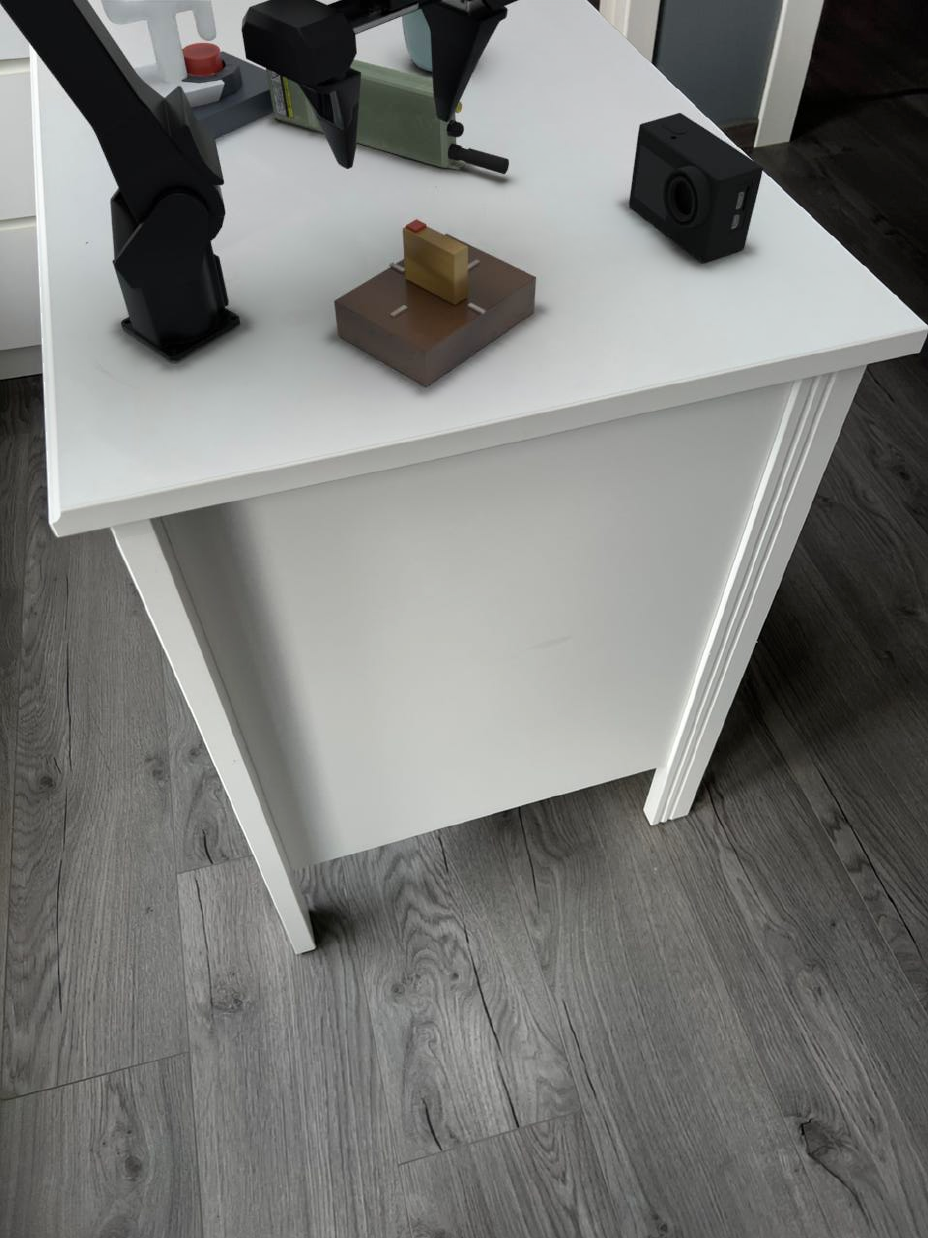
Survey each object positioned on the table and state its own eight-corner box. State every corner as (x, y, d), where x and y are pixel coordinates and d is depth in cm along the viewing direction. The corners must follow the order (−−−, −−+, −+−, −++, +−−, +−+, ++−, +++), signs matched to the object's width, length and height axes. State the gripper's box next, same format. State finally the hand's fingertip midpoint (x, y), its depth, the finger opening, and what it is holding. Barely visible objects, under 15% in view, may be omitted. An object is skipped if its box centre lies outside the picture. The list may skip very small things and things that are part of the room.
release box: (195, 148, 92) (185, 103, 89) (129, 114, 96) (118, 71, 93) (292, 103, 97) (286, 59, 94) (226, 73, 101) (219, 30, 98)
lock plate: (427, 387, 70) (425, 350, 68) (336, 335, 74) (332, 297, 71) (535, 312, 76) (537, 275, 73) (446, 267, 79) (445, 230, 77)
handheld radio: (290, 107, 97) (516, 171, 89) (269, 122, 95) (498, 189, 87) (278, 33, 91) (517, 95, 83) (256, 48, 90) (498, 112, 82)
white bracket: (243, 120, 95) (211, -63, 83) (146, 144, 92) (99, -42, 80) (216, 91, 99) (181, -88, 87) (122, 113, 96) (74, -69, 84)
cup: (471, 84, 100) (471, -29, 92) (395, 77, 101) (389, -35, 93) (485, 51, 104) (487, -59, 97) (413, 45, 105) (409, -64, 98)
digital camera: (615, 208, 85) (625, 125, 79) (667, 192, 87) (680, 109, 81) (690, 268, 79) (706, 183, 74) (744, 249, 81) (763, 165, 75)
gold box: (468, 297, 72) (468, 243, 68) (454, 305, 71) (454, 251, 68) (418, 270, 74) (416, 216, 70) (404, 278, 73) (402, 224, 70)
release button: (201, 82, 92) (197, 62, 91) (176, 70, 94) (172, 50, 92) (231, 69, 94) (227, 49, 93) (207, 58, 95) (203, 38, 94)
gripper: (403, -196, 64) (412, 64, 76) (158, -131, 55) (213, 149, 67) (533, -160, 59) (521, 111, 71) (287, -82, 50) (321, 210, 63)
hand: (395, 142), depth 68 cm, fingers open, 9 cm apart
